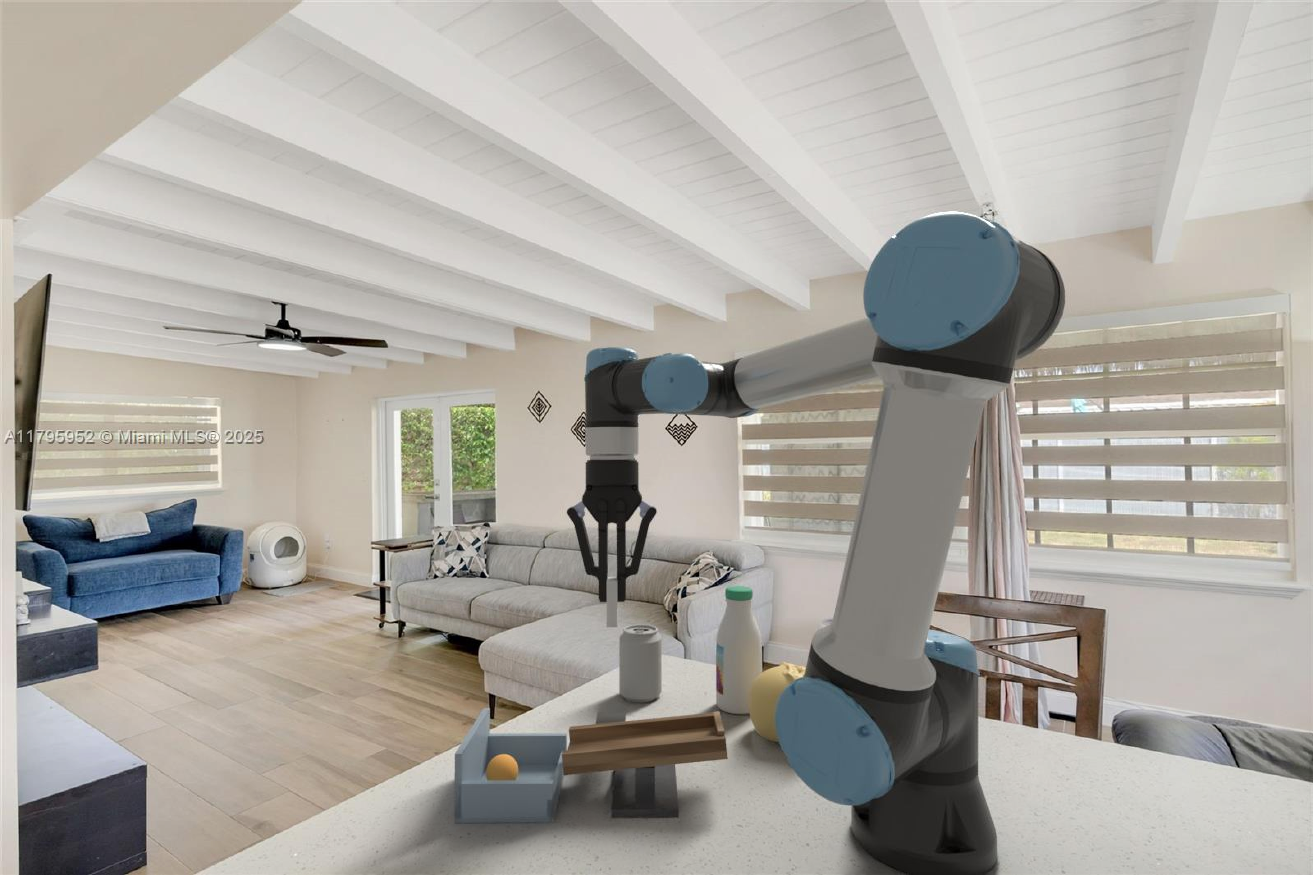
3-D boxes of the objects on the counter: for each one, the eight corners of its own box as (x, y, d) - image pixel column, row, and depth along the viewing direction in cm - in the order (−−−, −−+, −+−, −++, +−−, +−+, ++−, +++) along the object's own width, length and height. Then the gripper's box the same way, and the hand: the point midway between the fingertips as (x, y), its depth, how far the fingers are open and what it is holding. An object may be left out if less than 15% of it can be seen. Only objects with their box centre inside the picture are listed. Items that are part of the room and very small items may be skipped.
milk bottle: (769, 703, 113) (769, 586, 113) (750, 719, 106) (750, 595, 106) (728, 694, 117) (728, 581, 117) (708, 709, 110) (708, 589, 111)
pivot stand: (616, 768, 90) (616, 736, 90) (674, 768, 90) (674, 736, 90) (611, 818, 78) (611, 780, 78) (678, 817, 78) (678, 780, 78)
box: (483, 766, 90) (484, 707, 91) (566, 766, 91) (567, 707, 91) (454, 823, 77) (454, 753, 77) (552, 822, 77) (552, 753, 77)
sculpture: (838, 754, 94) (837, 678, 94) (753, 753, 94) (753, 677, 95) (820, 721, 106) (819, 653, 106) (744, 720, 106) (744, 653, 106)
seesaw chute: (577, 720, 96) (576, 700, 96) (714, 707, 96) (712, 686, 96) (563, 775, 80) (561, 750, 80) (727, 759, 80) (725, 734, 80)
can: (663, 689, 120) (663, 622, 120) (659, 705, 112) (659, 634, 112) (622, 687, 120) (622, 621, 120) (616, 703, 113) (616, 633, 113)
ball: (529, 774, 84) (515, 746, 84) (506, 796, 81) (491, 767, 81) (512, 775, 87) (498, 748, 87) (488, 797, 83) (474, 768, 83)
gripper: (657, 457, 98) (657, 617, 97) (569, 457, 97) (569, 618, 97) (658, 458, 90) (659, 631, 90) (562, 458, 90) (563, 632, 89)
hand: (612, 624), depth 93 cm, fingers closed
